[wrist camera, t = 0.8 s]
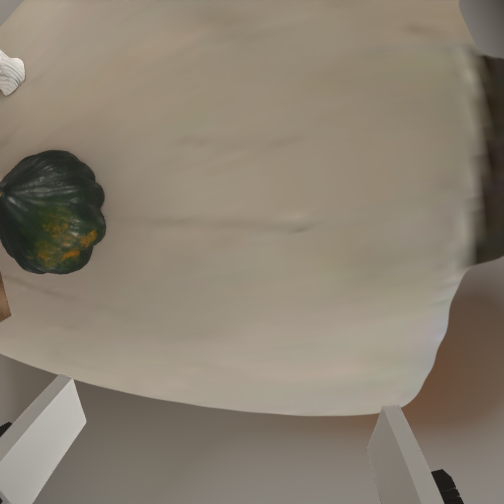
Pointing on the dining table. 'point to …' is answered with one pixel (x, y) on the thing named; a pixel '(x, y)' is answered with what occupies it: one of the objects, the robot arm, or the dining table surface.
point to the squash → (51, 213)
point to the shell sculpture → (10, 73)
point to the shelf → (3, 303)
